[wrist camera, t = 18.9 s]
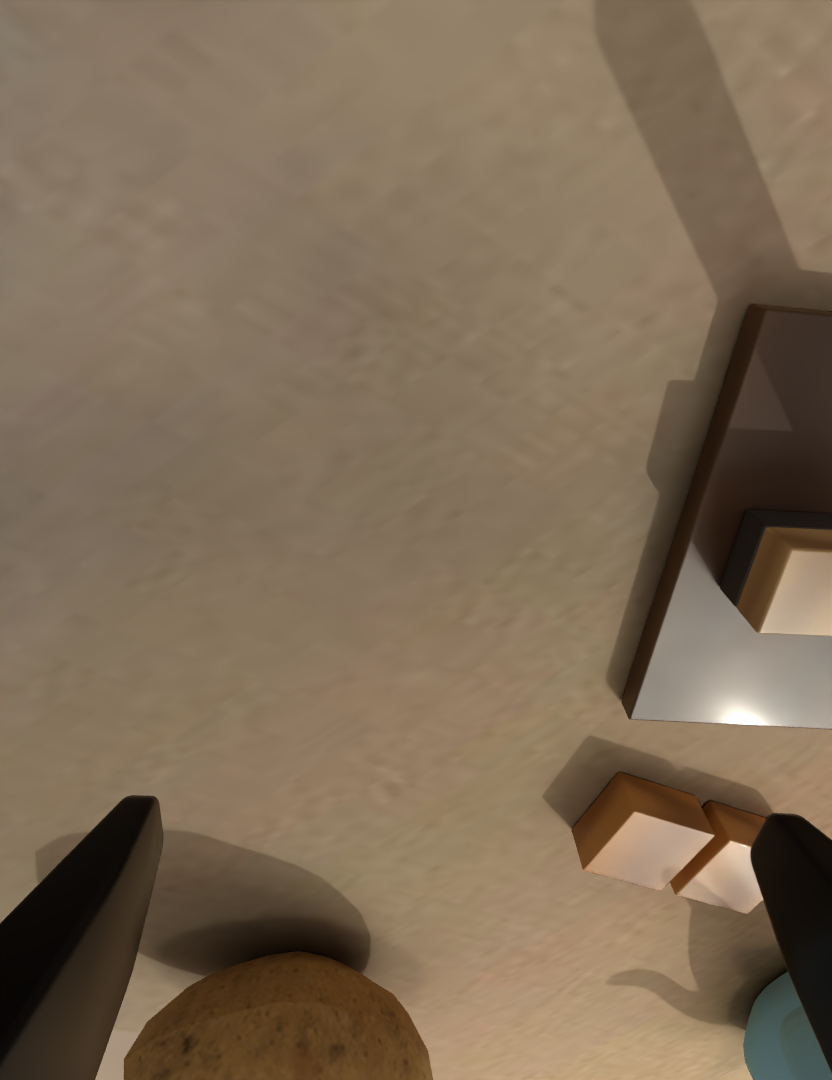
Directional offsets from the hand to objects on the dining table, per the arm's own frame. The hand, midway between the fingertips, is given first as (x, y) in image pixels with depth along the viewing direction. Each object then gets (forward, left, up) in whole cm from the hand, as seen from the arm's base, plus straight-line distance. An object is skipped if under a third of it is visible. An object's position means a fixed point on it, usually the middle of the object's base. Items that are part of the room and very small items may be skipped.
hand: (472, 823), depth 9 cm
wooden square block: (+3, -22, -13) cm, 26 cm away
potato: (-20, -20, -13) cm, 31 cm away
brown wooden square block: (0, -19, -13) cm, 22 cm away
